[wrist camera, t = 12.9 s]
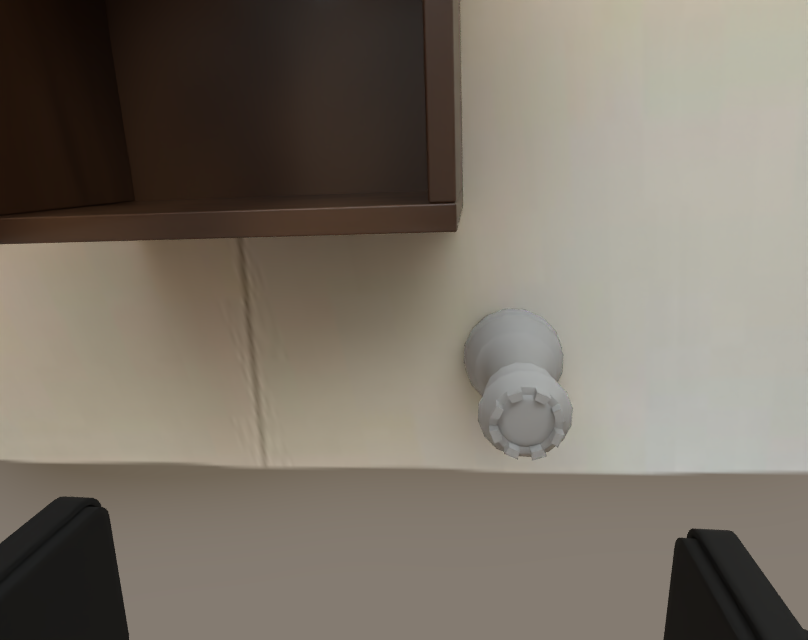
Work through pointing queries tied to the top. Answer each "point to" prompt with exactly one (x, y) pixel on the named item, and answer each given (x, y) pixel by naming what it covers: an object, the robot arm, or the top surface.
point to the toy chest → (228, 119)
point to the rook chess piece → (518, 382)
